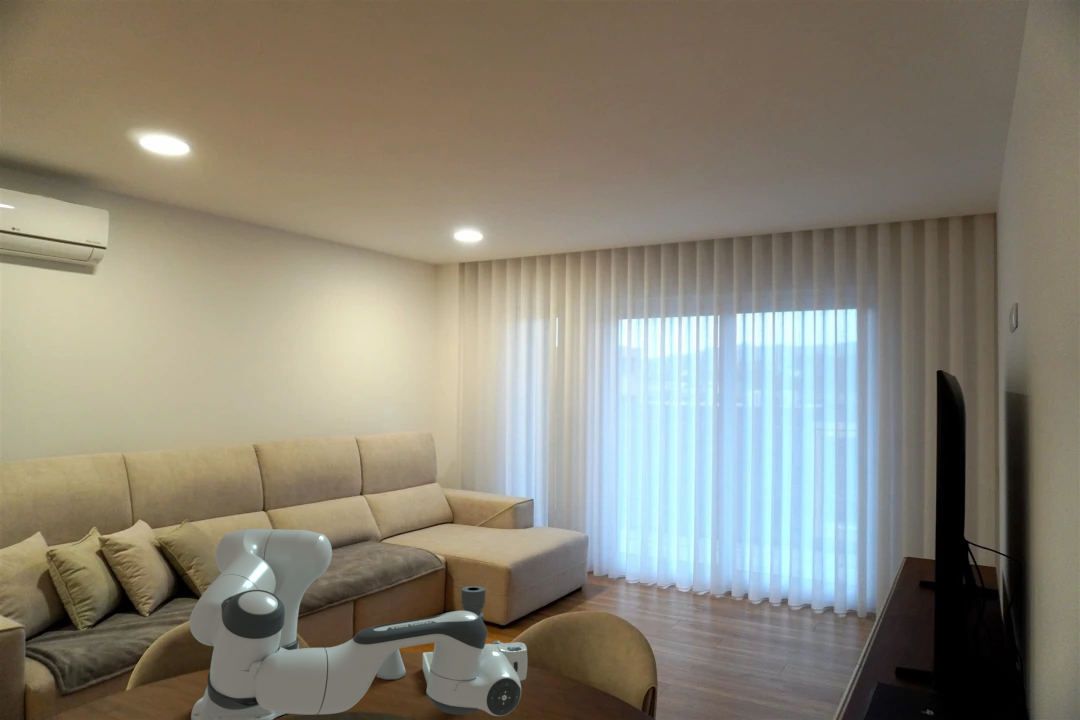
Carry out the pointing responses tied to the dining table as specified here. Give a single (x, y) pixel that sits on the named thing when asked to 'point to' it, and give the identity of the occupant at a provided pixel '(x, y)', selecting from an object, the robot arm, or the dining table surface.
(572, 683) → the dining table surface
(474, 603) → the candle holder
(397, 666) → the flask
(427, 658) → the box
